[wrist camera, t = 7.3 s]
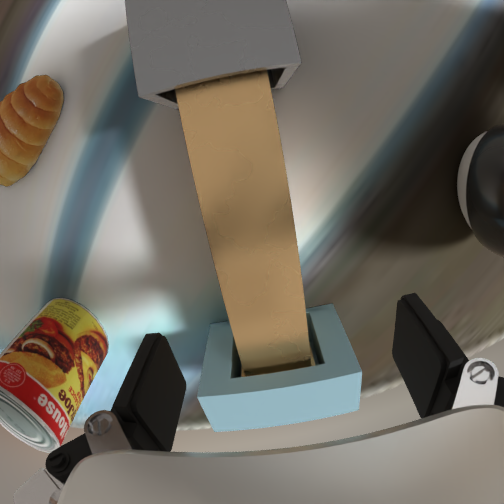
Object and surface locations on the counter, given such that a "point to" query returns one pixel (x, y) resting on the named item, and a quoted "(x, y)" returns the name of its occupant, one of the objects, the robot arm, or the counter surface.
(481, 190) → the pump dispenser
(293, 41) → the gray square block
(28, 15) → the counter surface
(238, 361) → the socket block
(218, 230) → the tan wooden plank
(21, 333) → the canned food
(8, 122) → the pastry
